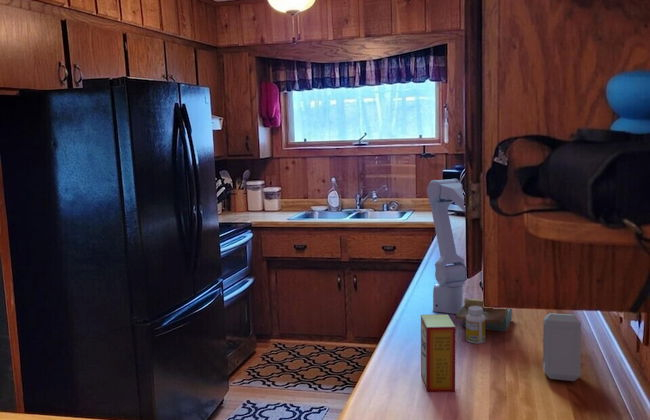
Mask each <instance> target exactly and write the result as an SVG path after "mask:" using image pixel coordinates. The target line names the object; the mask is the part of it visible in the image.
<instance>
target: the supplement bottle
mask: <svg viewBox="0 0 650 420" xmlns="http://www.w3.org/2000/svg"><path fill="white" fill-rule="evenodd" d="M468 313H469V314H467V315H466V326H465V340H466V341H467V342H469V343H471V344H477V345H478V344H482V343H485V341H486V329H485V316H484V315H483V314H482V313H483V308H482V307H480V306H470V307H469V308H468Z"/></svg>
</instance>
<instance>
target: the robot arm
mask: <svg viewBox="0 0 650 420" xmlns="http://www.w3.org/2000/svg"><path fill="white" fill-rule="evenodd" d="M463 192H464V189H463V183H461V182H460V181H459V179H458V178H451V179H438V180H437V179H432V180H430V182H429V183H428V185H427V188H426V193H427V197H428V198H427V199H428V202H429V206H430V210H431V214H432V219H433V224H434V230H435V235H436V240H437V245H438V250H439V251H438V252H439V255H440V257H439V258H438V260H436V262H435V263H434V266H435V267H434V268H435V273H434V277H435V280H436V281H437V282H436V283H435V284H433V285H434V286H433V291H432V293H433V295H432V312H438V313H444V314H455V315H457V314H458V312H459V311H460V310H461V309H462V307H463V306H464V305H463V302H464V301H463V300H464V299H463V295H464V294H463V293H464V291H463V289H464V288H463V287H464V286H463V285H465V282H466V281H467V280H468V278H466V267H467V266H466V263H465V260H464V258H463V257H462V256H460V255H458V253H457V250H456V244H455V240H454V234H453V231H452V225H451V221H450V220H451V219H450V215H449V210H448V208H449V207H450V205H453V203H455V204H456V206H458V207H459V208H460V209H461V210H462V211H463V212H464V213H465V207H464V195H463ZM478 277H479V280H480V282H479V283H478V284H479V287H480V288H481V291H482V292H483V283H482V272H480V271H479V276H478Z"/></svg>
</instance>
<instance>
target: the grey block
mask: <svg viewBox="0 0 650 420" xmlns="http://www.w3.org/2000/svg"><path fill="white" fill-rule="evenodd" d="M542 322H543V328H542V329H543V331H542V332H543V333H542V335H543V338H542V339H543V340H542V343H543V344H542V345H543V346H542V369H543V371H544V374H545V375H546V376H547V377H548V378H549V379H550V380H561V381H567V382H568V381H570V382H575V381H576V380H577V379H579V378H580V377H581V376H582V373H581V370H582V369H581V368H582V367H581V361H582V359H581V358H582V357H581V355H582V354H581V352H582V351H581V349H582V346H581V345H582V342H581V341H582V339H581V338H582V327H581V326H582V322H581V321H580V320H579V319H578V317H576V315H574V314H570V313H567V314H566V313H555V312H554V313H553V312H549V313H548V314H546V315H545V316H544V317H543V321H542Z"/></svg>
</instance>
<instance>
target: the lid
mask: <svg viewBox="0 0 650 420" xmlns="http://www.w3.org/2000/svg"><path fill="white" fill-rule="evenodd" d="M483 300H484V299H477V298H468V297H467V298H465V299H464V305H463V307H462V309H461V310H460V311H459V312H458V314H455V316H454V318H455V320H458V321H462V320H465V321H466V315H467V314H469V313H468V308H469V307H470V306H480V307H482V308H483V313H482V314H483V315H484V316H485V323H491V324H499V325H502V323H503V321H504V319H505V318H506V316H507V314H508V310H506V309H493V308H484V307H483Z"/></svg>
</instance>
